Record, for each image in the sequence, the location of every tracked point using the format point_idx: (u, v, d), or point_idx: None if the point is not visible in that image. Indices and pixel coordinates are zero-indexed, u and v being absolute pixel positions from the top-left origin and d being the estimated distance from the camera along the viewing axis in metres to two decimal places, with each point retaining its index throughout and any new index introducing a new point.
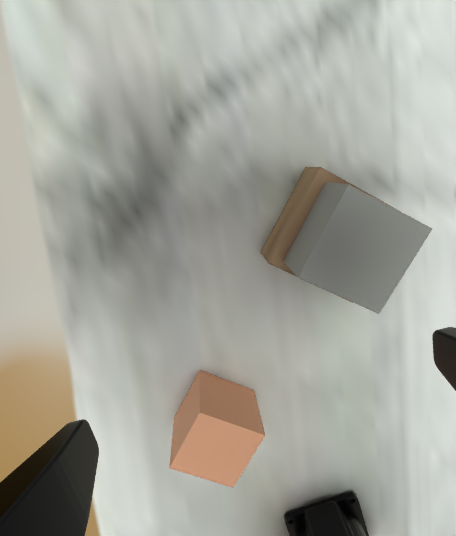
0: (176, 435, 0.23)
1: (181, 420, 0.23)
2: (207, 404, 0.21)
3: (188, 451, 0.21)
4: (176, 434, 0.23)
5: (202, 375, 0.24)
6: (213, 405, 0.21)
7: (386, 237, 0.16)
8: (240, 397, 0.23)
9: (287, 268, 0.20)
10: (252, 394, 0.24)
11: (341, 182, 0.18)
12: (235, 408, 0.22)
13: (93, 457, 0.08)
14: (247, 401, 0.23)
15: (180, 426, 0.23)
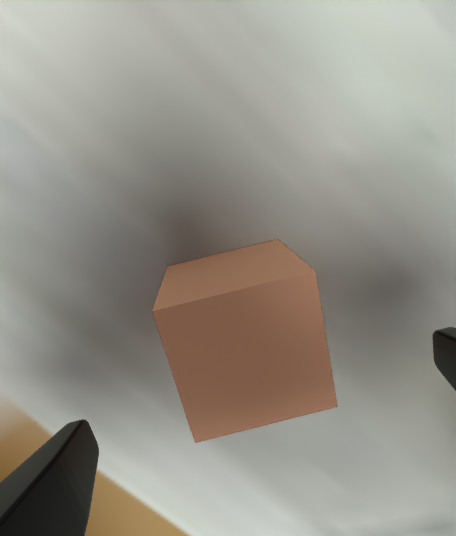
0: None
1: None
2: (174, 293, 0.10)
3: (200, 394, 0.10)
4: None
5: (172, 268, 0.13)
6: (189, 288, 0.10)
7: None
8: (251, 256, 0.12)
9: None
10: (275, 243, 0.13)
11: None
12: (239, 271, 0.10)
13: (93, 457, 0.08)
14: (264, 254, 0.12)
15: None
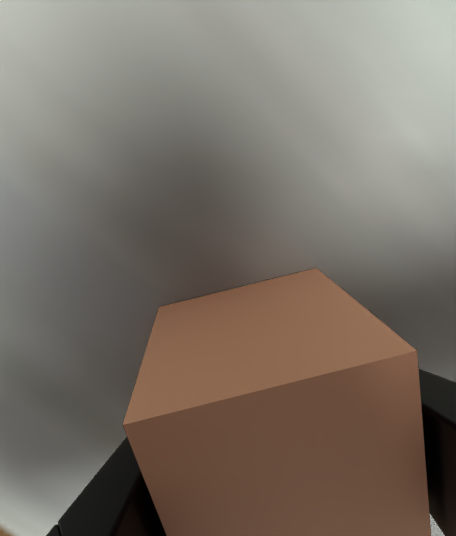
0: None
1: None
2: (164, 376, 0.06)
3: None
4: None
5: (165, 314, 0.09)
6: (191, 366, 0.06)
7: None
8: (284, 299, 0.08)
9: None
10: (316, 277, 0.09)
11: None
12: (271, 334, 0.06)
13: None
14: (305, 298, 0.08)
15: None
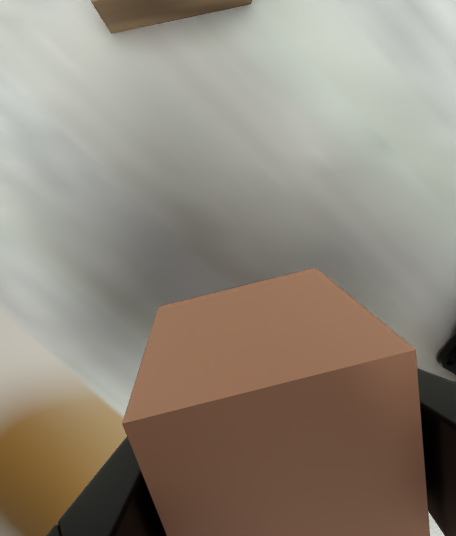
0: None
1: None
2: (164, 374, 0.06)
3: None
4: None
5: (164, 313, 0.09)
6: (190, 365, 0.06)
7: None
8: (283, 299, 0.08)
9: None
10: (316, 277, 0.09)
11: None
12: (271, 333, 0.06)
13: None
14: (304, 297, 0.08)
15: None
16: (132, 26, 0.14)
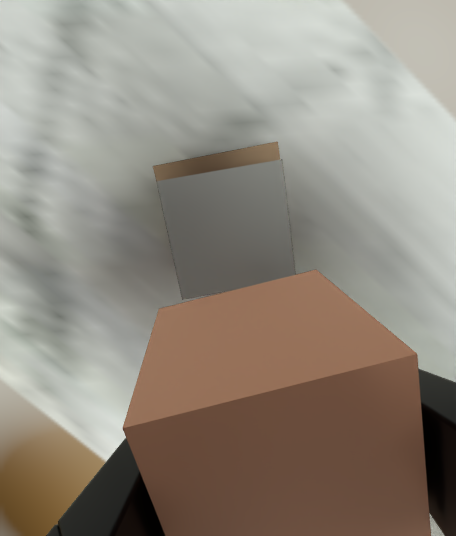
0: None
1: None
2: (164, 379, 0.06)
3: None
4: None
5: (165, 316, 0.09)
6: (190, 368, 0.06)
7: (239, 201, 0.13)
8: (283, 301, 0.08)
9: None
10: (316, 279, 0.09)
11: (185, 163, 0.16)
12: (271, 336, 0.06)
13: None
14: (305, 300, 0.08)
15: None
16: None
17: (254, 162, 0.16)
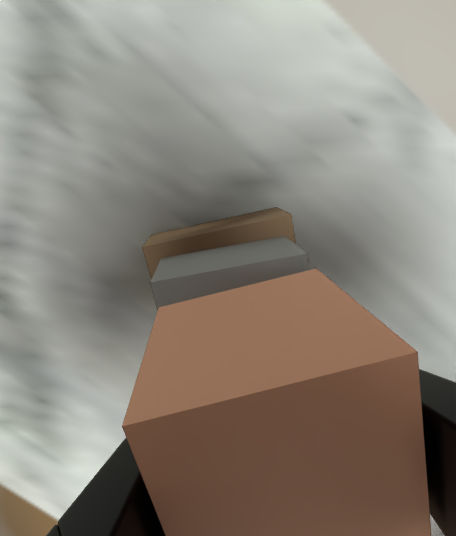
0: None
1: None
2: (164, 377, 0.06)
3: None
4: None
5: (164, 314, 0.09)
6: (190, 367, 0.06)
7: None
8: (283, 300, 0.08)
9: None
10: (316, 278, 0.09)
11: (180, 242, 0.13)
12: (271, 334, 0.06)
13: None
14: (305, 298, 0.08)
15: None
16: None
17: (263, 238, 0.13)
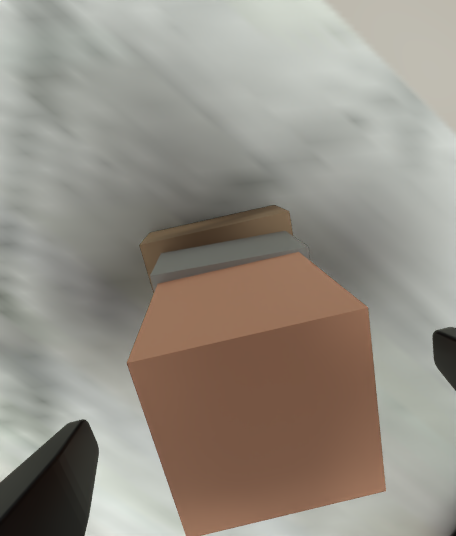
0: None
1: None
2: (161, 330, 0.07)
3: (195, 476, 0.07)
4: None
5: (163, 288, 0.10)
6: (183, 323, 0.07)
7: None
8: (267, 275, 0.09)
9: None
10: (297, 259, 0.10)
11: (178, 240, 0.13)
12: (253, 300, 0.07)
13: (93, 457, 0.08)
14: (285, 274, 0.09)
15: None
16: None
17: None
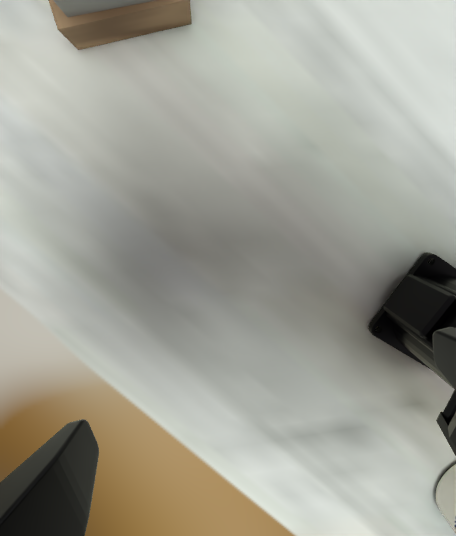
0: None
1: None
2: None
3: None
4: None
5: None
6: None
7: None
8: None
9: (82, 18, 0.15)
10: None
11: None
12: None
13: (93, 457, 0.08)
14: None
15: None
16: (95, 45, 0.17)
17: None
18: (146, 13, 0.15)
